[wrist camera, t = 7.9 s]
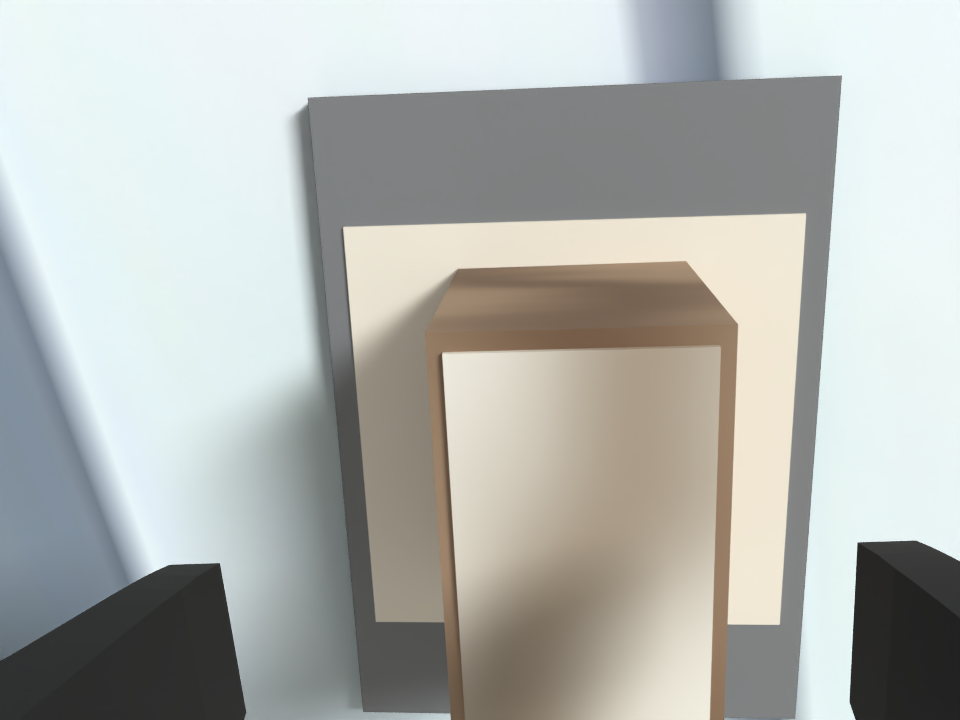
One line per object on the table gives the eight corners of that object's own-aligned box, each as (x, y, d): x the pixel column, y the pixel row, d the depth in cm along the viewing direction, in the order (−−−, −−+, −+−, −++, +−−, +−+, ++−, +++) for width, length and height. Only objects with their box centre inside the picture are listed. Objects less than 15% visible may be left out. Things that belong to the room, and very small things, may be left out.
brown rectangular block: (475, 579, 20) (451, 738, 15) (457, 268, 18) (423, 334, 13) (680, 578, 19) (724, 740, 15) (686, 261, 17) (739, 325, 13)
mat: (314, 98, 18) (306, 98, 17) (833, 75, 17) (843, 75, 16) (367, 697, 22) (362, 713, 21) (789, 703, 21) (795, 720, 20)
